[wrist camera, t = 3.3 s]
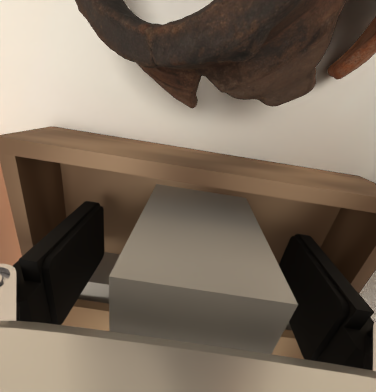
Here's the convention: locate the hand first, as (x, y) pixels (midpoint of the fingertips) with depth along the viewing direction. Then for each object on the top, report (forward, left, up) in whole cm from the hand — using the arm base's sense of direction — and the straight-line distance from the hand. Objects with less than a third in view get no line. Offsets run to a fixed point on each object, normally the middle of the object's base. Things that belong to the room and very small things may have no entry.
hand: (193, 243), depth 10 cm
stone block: (0, 0, -1) cm, 1 cm away
